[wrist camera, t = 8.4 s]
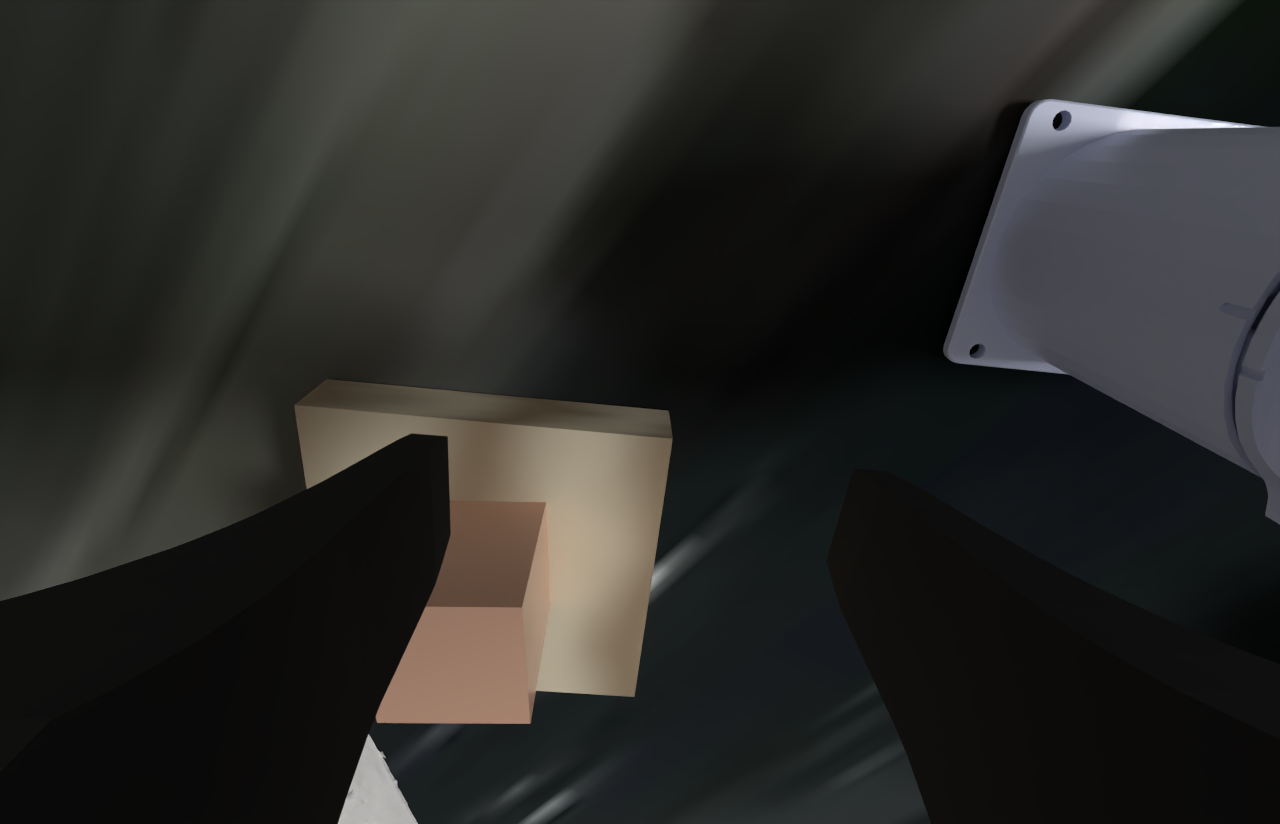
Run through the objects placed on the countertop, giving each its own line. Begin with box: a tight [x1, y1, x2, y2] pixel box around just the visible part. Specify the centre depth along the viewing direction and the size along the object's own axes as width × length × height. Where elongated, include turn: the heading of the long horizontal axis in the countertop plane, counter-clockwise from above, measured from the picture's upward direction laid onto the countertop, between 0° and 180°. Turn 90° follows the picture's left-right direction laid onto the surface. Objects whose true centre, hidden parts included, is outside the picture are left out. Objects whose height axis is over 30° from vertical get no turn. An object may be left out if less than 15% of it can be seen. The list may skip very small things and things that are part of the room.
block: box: [376, 501, 551, 724], centre depth 19 cm, size 4×4×5 cm
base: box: [294, 379, 673, 697], centre depth 22 cm, size 12×12×2 cm
